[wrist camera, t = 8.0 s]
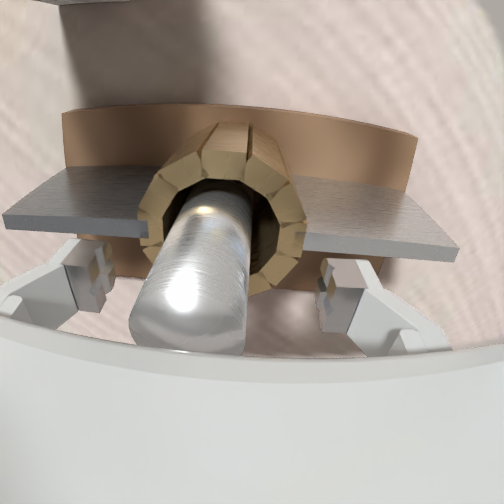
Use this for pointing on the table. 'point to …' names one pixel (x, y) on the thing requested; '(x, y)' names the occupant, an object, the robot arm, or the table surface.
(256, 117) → the walnut base
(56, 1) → the coffee box
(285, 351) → the table surface
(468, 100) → the table surface
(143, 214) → the hinge
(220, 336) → the hinge pin
